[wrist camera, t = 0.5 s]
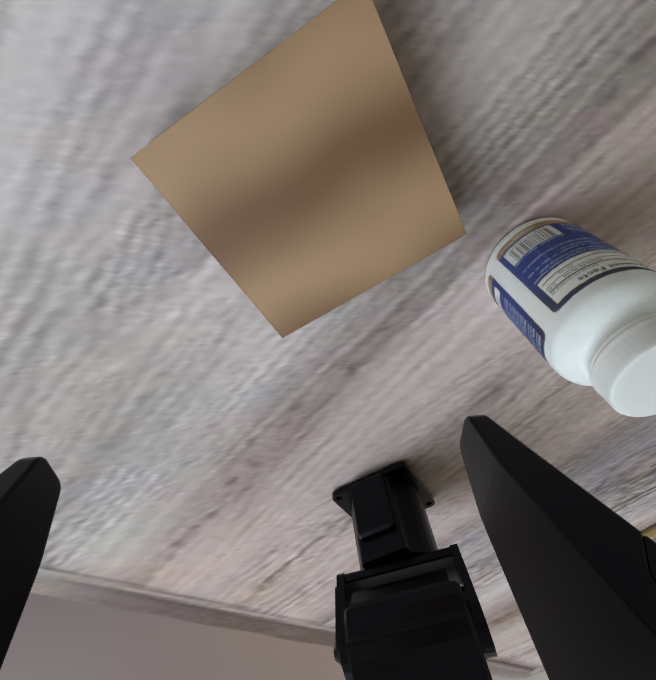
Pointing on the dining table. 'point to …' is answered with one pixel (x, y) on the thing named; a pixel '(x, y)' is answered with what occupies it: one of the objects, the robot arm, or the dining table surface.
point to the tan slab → (309, 171)
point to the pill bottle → (581, 309)
